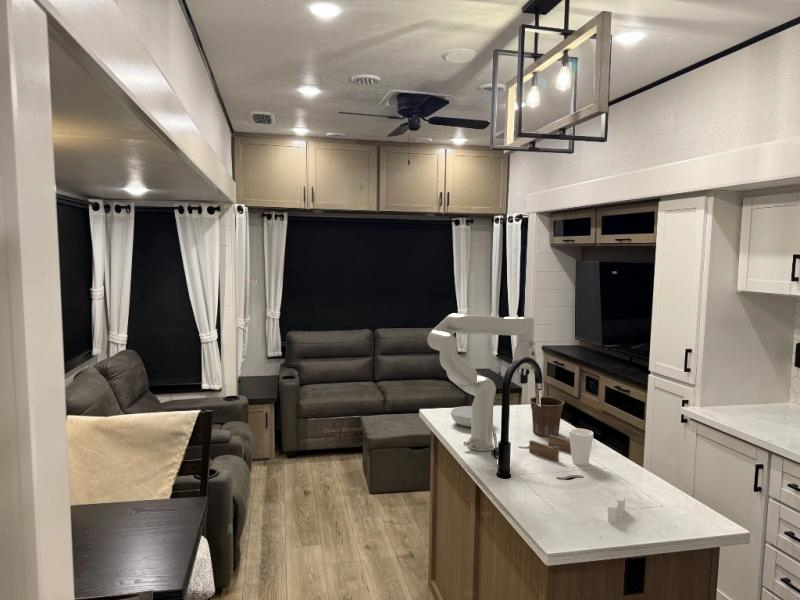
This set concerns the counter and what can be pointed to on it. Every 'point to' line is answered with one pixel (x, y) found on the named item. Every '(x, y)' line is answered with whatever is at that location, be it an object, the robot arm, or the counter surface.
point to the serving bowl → (462, 415)
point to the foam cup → (580, 445)
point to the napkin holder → (616, 508)
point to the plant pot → (546, 416)
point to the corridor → (550, 447)
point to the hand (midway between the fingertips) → (523, 383)
